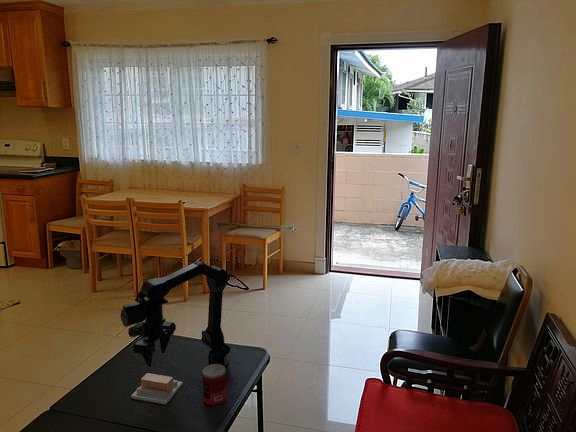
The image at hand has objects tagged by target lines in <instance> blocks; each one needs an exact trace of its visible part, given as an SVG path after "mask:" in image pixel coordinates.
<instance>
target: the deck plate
mask: <svg viewBox="0 0 576 432" xmlns="http://www.w3.org/2000/svg"><path fill="white" fill-rule="evenodd" d="M183 383H184V382H183V381H180V380H177V379H173V388H172V390H171V391H170V392H169V393H168V394H167V392H164V391H158V390H152V389H146V388H141V385H140V386H139V387H137V388H136V389H135V391H134V392H133V393H132V394H131V395H130V398H131V399H133V400H138V401H144V402H149V403H156V404H161V405H167V404H168V403H169V401H170V400H171V399H172V398H173V396H174V395H175V394H176V393H177V392H178V391H179V390H180V388H181V387H182V386H183Z"/></svg>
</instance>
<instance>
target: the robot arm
mask: <svg viewBox="0 0 576 432" xmlns="http://www.w3.org/2000/svg"><path fill="white" fill-rule="evenodd" d="M200 275H203V276H205V279H206V285H207V287H208V290H209V291H208V292H209V293H208V295H209V296H208V311H207V313H208V314H207V315H208V316H207V317H208V318H207V319H208V320H207V326H206V329H205V330H202V331H201V339H200V341H201V342H202V344H203V346H205V347H206V349H207V350H208V354H207V364H208V365H211V364H221V365H223V366H224V367H226V368H227V366H228V365H229V363H230V361H229V360H228V354H230V352H231V347H230V345H229V346H228V345H227V344H225V336H224V333H223V330H222V313H223V312H222V308H223V294H224V290H225V289H226V287H227V284H228V281H229V272H228V271H227V270H226V269H224V268H221V267H220V266H217V265H214V264H213V265H208V264H206V263H204V262H203V261H200V260H196V261H194V262H193V263H190V264H189V265H186V266H184V267H183V268H180V269H179V270H176V271H173V272H172V273H170V274H168V275H166V276H162V277H161V276H160V277H154V278H151V279H148V280H147V279H146V280H145V281H144V282H143V283H142V284H141V288H140V291H139V292H138V294H137V296H136V297H135V299H134V301H135V302H134V303H129V304H124V305H122V309H121V310H120V314H119V315H120V320H121V323H122V325H123V326H124V327H125V328H126V327H129V328H128V330H127V331H128V333H127V334H128V335H129V337H130V338H136V337H139V336H142V338H147V339H141V338H140V339H138V341H137V342H136V343H134V344H133V345H132V353H133V354H140V355H141V356H142V358H143V359H144V362H145V363H146V365H147V367H149V368H151V367H152V365H153V361H154V357H155V355H156V349H155V348H156V342H157V341H158V340H159V346H160V351H161V354H165V353H166V351H167V348H168V346H169V345H170V342H171V340H172V338H173V335H174V334H175V331H176V330H177V325H176V324H175V322H173V321H167V320H166V317H164V314H163V313H164V312H163V311H164V310H163V305H166V304H168V303H169V300H167V299H166V298H165V297H166V296H167V295H168V294H169V293H170V291H171V290H172V289H174V288H177V287H179V286H181V285H182V284H184V283H187V282H188V281H190V280H192V279H193V278H195V277H198V276H200Z"/></svg>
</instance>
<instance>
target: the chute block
mask: <svg viewBox="0 0 576 432" xmlns="http://www.w3.org/2000/svg"><path fill="white" fill-rule="evenodd" d="M173 380H174V377H172V376H168V375H161V374H156V373H149V372H147V373H145V374H144V376H143V377H141V379H140V386H141V388H146V389H152V390H158V391H164V392H167V394H168V393H169V392H170V391H171V390H172V388H173Z"/></svg>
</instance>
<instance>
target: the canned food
mask: <svg viewBox="0 0 576 432" xmlns="http://www.w3.org/2000/svg"><path fill="white" fill-rule="evenodd" d="M201 374H202V376H201V377H202V379H201V381H202V399H203V402H204V404H205V405H208V406H212V407H213V406H218V405H221V404H223V402H225V401H226V398H227V369H226V368H225V367H224V366H223V365H221V364H211V365H209V364H208V365H206V366H205V367H203V368H202V373H201Z"/></svg>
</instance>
